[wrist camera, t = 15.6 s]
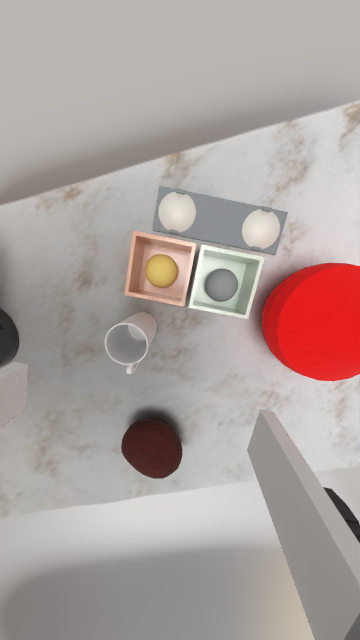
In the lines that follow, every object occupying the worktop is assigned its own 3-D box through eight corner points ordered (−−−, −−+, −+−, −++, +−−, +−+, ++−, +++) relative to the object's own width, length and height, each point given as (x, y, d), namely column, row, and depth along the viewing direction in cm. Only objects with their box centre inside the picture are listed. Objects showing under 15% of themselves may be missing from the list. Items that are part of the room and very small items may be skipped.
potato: (140, 398, 45) (126, 432, 35) (191, 420, 46) (192, 460, 36) (122, 434, 48) (105, 477, 37) (171, 455, 48) (167, 502, 38)
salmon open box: (135, 291, 40) (124, 294, 33) (143, 240, 38) (132, 230, 31) (184, 301, 40) (183, 306, 33) (194, 250, 38) (196, 243, 31)
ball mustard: (146, 283, 40) (138, 285, 34) (151, 252, 38) (144, 248, 32) (175, 289, 39) (173, 291, 34) (181, 258, 38) (179, 255, 32)
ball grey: (200, 294, 40) (202, 302, 34) (207, 264, 38) (211, 267, 32) (229, 299, 40) (236, 308, 34) (237, 270, 38) (246, 274, 32)
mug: (127, 309, 41) (103, 321, 29) (159, 311, 41) (148, 324, 29) (127, 354, 43) (105, 382, 32) (157, 356, 43) (147, 385, 31)
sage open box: (188, 302, 40) (188, 307, 33) (198, 251, 38) (201, 244, 31) (236, 311, 41) (247, 319, 33) (249, 261, 38) (264, 257, 31)
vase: (261, 365, 43) (424, 551, 14) (237, 286, 40) (380, 306, 10) (347, 338, 41) (745, 485, 12) (329, 252, 38) (818, 161, 9)
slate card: (153, 230, 38) (152, 229, 37) (159, 187, 36) (159, 184, 35) (274, 254, 38) (276, 254, 37) (286, 212, 37) (289, 211, 36)
